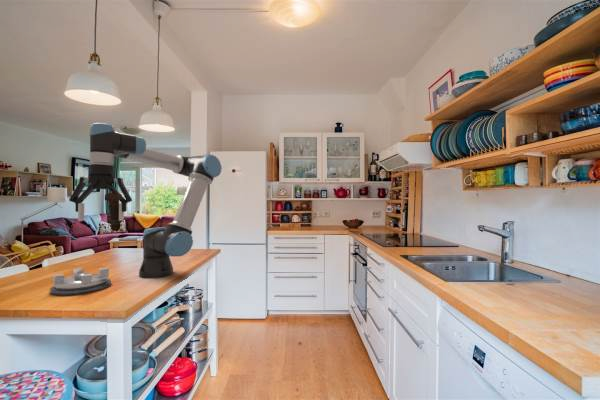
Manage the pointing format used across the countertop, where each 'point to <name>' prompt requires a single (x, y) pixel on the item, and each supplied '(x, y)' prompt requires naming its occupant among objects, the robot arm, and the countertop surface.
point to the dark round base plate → (81, 291)
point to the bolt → (114, 210)
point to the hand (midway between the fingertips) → (101, 220)
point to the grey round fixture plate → (80, 280)
